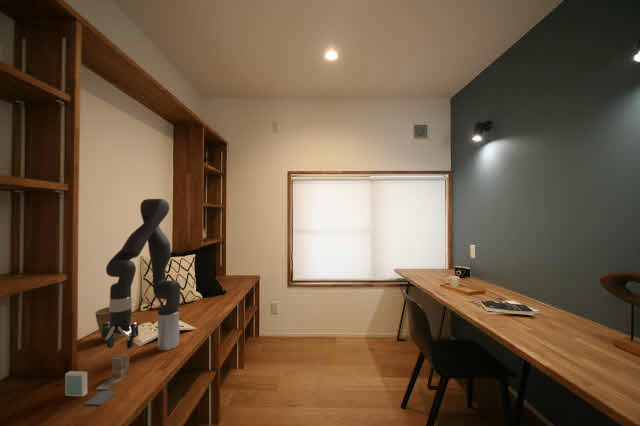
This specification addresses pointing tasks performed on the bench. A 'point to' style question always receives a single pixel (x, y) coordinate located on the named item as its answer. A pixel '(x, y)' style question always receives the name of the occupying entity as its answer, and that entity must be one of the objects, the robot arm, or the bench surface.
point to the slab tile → (75, 383)
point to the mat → (101, 398)
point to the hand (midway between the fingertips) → (120, 347)
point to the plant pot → (103, 317)
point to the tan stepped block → (117, 371)
